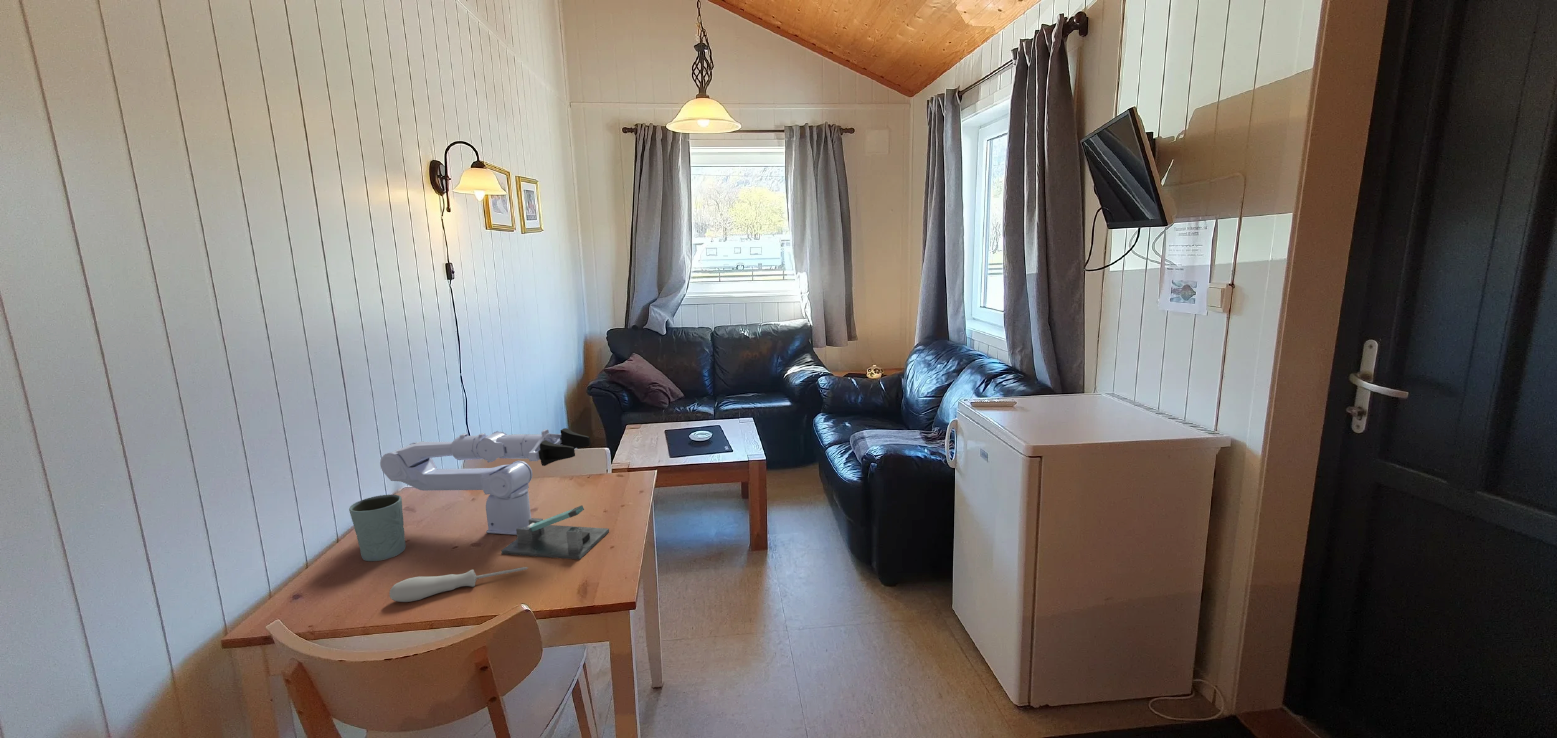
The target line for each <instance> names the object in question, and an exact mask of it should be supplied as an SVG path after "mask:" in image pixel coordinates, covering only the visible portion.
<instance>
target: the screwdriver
mask: <svg viewBox="0 0 1557 738" xmlns="http://www.w3.org/2000/svg"><path fill="white" fill-rule="evenodd" d="M527 569H529V566H522V567H518V568H513V569H506V570H501V571H500V570H499V571H497V572H491V573H485V574H480V575H477V574H476V572H475V570H474V569H470V570H468V571H467V572H465V573H459V574H453V573H451V574H445V575H438V576H437V575H435V576H414V577H409V578H406V579H404V580H401V581H399V582H396V583H395V584H394V585H392V587H391V588H390V590H389V598H390V599H392V601H394V602H397V603H398V602H399V603H408V602H415V601H420V600H423V599H425V598H428V597H431V596H433V595H437V594H440V593H444V592H448V591H453V590H455V589H457V588H462V587H472V588H474V587H475V586H476V582H477V580H479V579H484V578H489V577H494V576H499V575H505V574H510V573H514V572H520V571H526V570H527Z"/></svg>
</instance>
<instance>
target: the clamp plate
mask: <svg viewBox="0 0 1557 738" xmlns="http://www.w3.org/2000/svg"><path fill="white" fill-rule="evenodd" d="M542 520H544V518H539V517H538V518H537V517H536V518H535V517H531V519H529V525H530V524H532V523H537V522H540V521H542ZM516 532H517V535H516V539H514V541H512V542H510V543H509V544H508V545H507V546H505V547H504V548H503V549H501V550H500V551H501V552H500V553H501V555H511V556H512V555H513V556H523V557H525V556H526V557H540V558H551V559H552V558H554V559H555V558H556V559H569V560H581V559H582V558H584V556H585V555H587V553H588V552H589V551H591V550H592V549H593V548H594V547H595V546H596V545H597V544H598V543H599V542H601V540H602V539H603V538H605V536H606V535H608V533H609V532H610V528H607V527H606V528H605V527H587V526H573V525H571V526H569V525H557V524H551V525H549V526H546V527H543V528H541V529H538V530H535V531H533V532H532V531H531V527H518V528H517V529H516Z"/></svg>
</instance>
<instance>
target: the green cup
mask: <svg viewBox="0 0 1557 738" xmlns="http://www.w3.org/2000/svg"><path fill="white" fill-rule="evenodd" d="M348 510H349V511H348V512H349V513H350V514H349V515H350V519H351V521H352V523H353V528H354V532H355V534H356V540H357V542H358V546H359V551H360V555H361V558H362V560H363V561H366V562H379V561H383V560H385V561H386V560H388V559H391V558H394V557H396V556H398V555H401V554H402V553H403V552H404V551H405V550H406V547H407V546H406V538H405V528H404V526H405V525H404V523H405V522H404V513H403V499H402V496H401V495H399V494H380V495H376V496H371V497H366V498H364V499H361V500H359V501H357V502H354V503H352V504H351V505H350V506H349V509H348Z"/></svg>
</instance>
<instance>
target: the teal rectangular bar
mask: <svg viewBox="0 0 1557 738" xmlns="http://www.w3.org/2000/svg"><path fill="white" fill-rule="evenodd" d="M584 510H585V508H584V506H583V505H579V506H576V507H574V508H572V509H569V510H567V511H564V512H561V513H559V514H556V515H553V516H551V517H548V518H545V519H543V520H542V521H540V522H537V523H532V524H530V525H529V526H527V527H531V531H532V532H533V531H535V530H538V529H541V528H543V527H546V526H549V525H555V524H557V523H559V522H562V521H564V520H567V519H569V518H574V517H576V516H578V515H580V514H581V513H582V512H583V511H584Z"/></svg>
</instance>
